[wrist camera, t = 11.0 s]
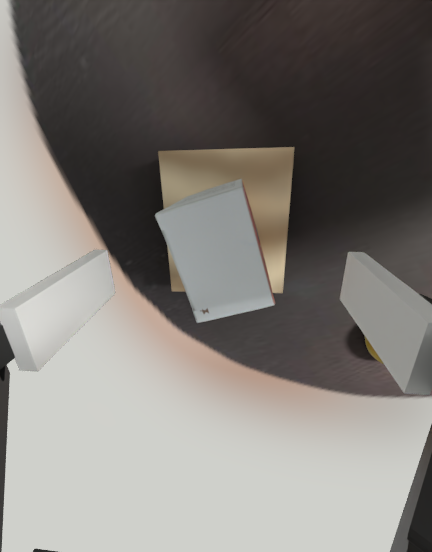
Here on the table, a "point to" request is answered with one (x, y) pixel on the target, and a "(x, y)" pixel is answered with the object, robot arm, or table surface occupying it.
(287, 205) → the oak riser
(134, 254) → the table surface
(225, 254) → the small box
